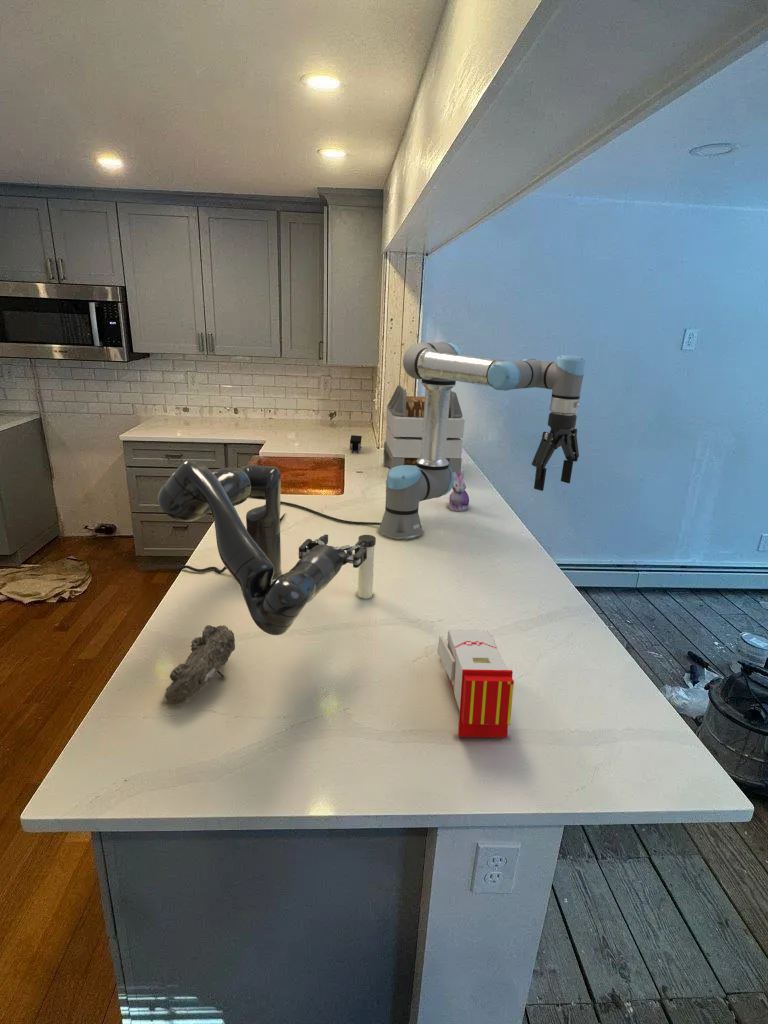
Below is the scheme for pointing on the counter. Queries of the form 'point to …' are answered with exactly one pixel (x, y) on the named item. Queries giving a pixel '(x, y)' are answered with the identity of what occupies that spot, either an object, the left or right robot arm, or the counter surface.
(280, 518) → the feather
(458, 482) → the figurine
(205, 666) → the fossil
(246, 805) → the counter surface
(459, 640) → the toy
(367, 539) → the lid
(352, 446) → the figurine character
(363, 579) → the bottle
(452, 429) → the white storage crate
